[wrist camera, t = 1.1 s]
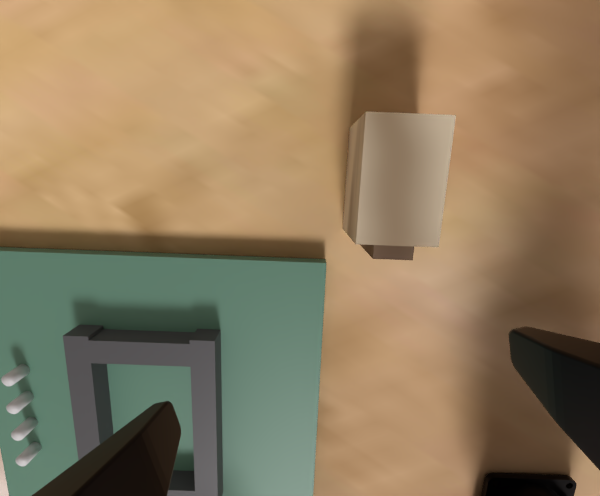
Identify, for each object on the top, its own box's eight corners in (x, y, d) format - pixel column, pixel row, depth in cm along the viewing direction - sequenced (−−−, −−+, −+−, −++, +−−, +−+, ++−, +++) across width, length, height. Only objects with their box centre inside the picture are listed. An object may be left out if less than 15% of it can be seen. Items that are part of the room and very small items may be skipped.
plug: (416, 130, 19) (455, 115, 14) (404, 243, 21) (436, 263, 16) (349, 128, 19) (366, 111, 14) (341, 240, 21) (354, 260, 16)
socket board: (325, 259, 21) (328, 269, 18) (309, 531, 25) (310, 568, 23) (-21, 246, 21) (-64, 255, 18) (27, 522, 25) (-2, 558, 23)
